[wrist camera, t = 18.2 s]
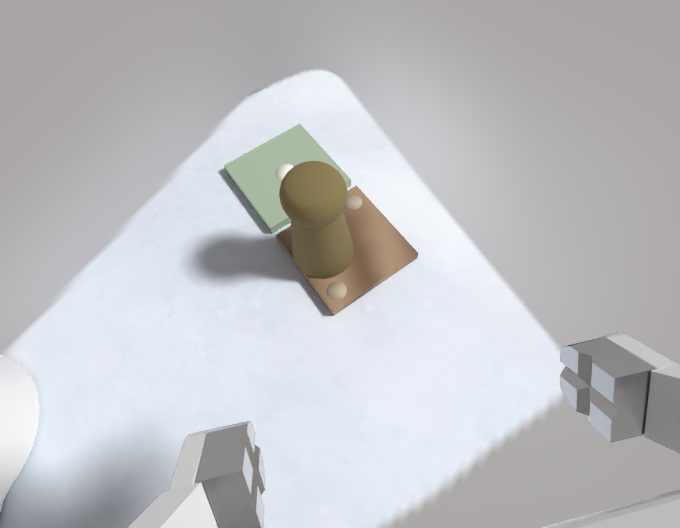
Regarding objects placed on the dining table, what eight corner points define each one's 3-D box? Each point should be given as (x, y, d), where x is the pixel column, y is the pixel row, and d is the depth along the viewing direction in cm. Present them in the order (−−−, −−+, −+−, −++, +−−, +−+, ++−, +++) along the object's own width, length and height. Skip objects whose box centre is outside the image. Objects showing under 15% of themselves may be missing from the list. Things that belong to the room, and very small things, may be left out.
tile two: (333, 315, 37) (333, 311, 36) (277, 239, 41) (275, 234, 40) (416, 258, 39) (418, 253, 38) (356, 191, 43) (356, 185, 42)
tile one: (272, 233, 41) (270, 227, 40) (226, 171, 45) (223, 165, 44) (350, 185, 44) (350, 179, 43) (300, 130, 47) (299, 123, 46)
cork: (331, 290, 37) (321, 229, 27) (279, 259, 39) (252, 191, 29) (366, 242, 39) (368, 169, 29) (315, 214, 41) (301, 136, 31)
